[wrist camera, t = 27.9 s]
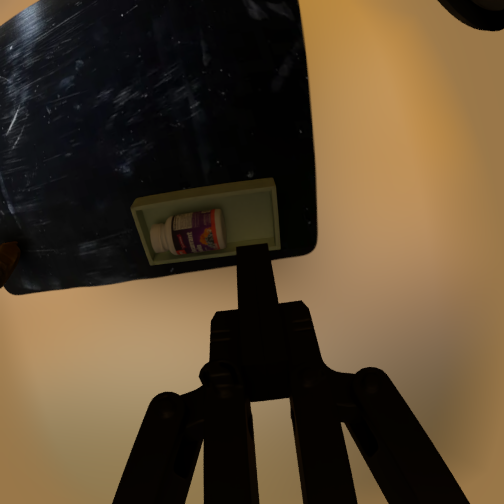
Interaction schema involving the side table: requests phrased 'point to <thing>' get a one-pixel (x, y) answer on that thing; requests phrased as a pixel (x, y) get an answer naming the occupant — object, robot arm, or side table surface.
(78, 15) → the side table surface
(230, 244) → the tray
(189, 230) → the pill bottle
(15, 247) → the decorative stone
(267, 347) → the robot arm
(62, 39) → the side table surface
